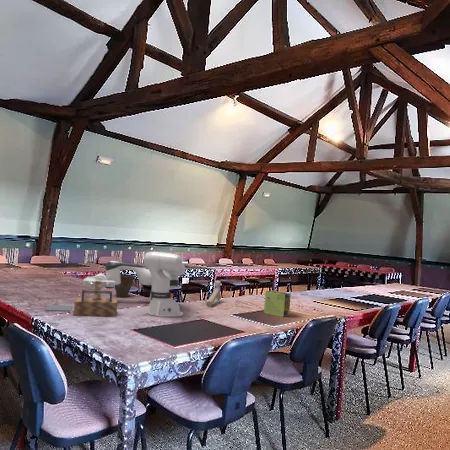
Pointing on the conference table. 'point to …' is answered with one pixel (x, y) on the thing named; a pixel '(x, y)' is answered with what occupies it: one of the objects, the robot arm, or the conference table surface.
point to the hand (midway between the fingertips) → (98, 284)
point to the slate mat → (58, 308)
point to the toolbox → (95, 305)
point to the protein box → (277, 303)
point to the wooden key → (97, 287)
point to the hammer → (214, 295)
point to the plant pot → (124, 285)
